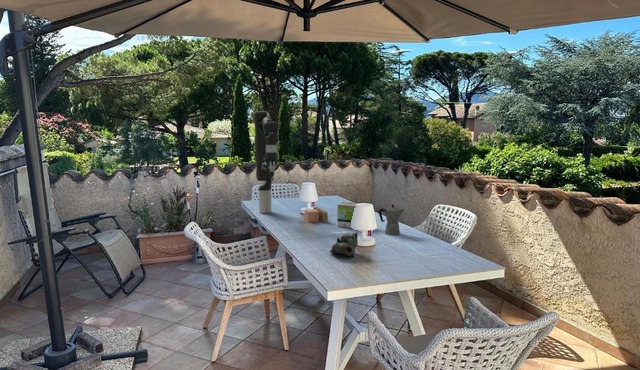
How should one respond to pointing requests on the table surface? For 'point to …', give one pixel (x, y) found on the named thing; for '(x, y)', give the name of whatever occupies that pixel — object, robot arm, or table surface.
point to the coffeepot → (391, 220)
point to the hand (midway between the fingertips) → (271, 176)
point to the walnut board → (322, 215)
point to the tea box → (345, 214)
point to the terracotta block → (311, 215)
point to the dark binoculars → (346, 244)
